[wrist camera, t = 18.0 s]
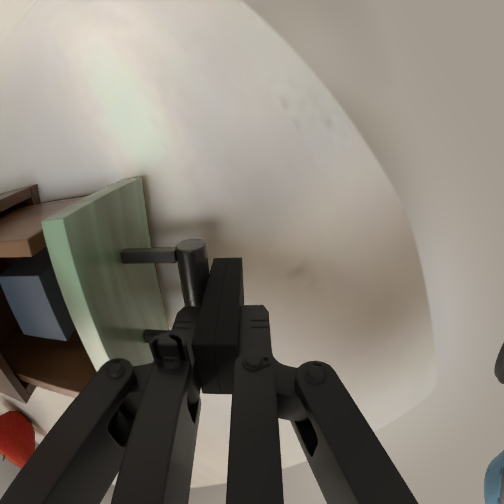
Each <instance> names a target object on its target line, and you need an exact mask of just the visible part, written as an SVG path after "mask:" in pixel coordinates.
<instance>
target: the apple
mask: <svg viewBox="0 0 504 504" xmlns="http://www.w3.org/2000/svg"><path fill="white" fill-rule="evenodd" d="M34 451H35V432H34V430H33V427H32V425H31V423H30V421H29V420H28V419H27V418H26V417H25V416H23V415H22V414H21V413H19V412H17V411H8V412H6V413H4V414H3V415H1V416H0V454H1V455H3V456H4V457H3V461H4V458H6V459H8V460H9V461H10V462H12V463H13V464H15V465H16V466H18V467H20V468H23V466H24V465H25V464H26V462H27V461H28V459H29V458H30V457H31V455H32V454H33V453H34Z"/></svg>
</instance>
